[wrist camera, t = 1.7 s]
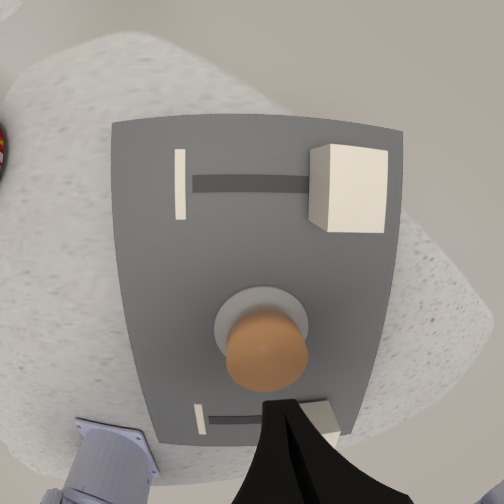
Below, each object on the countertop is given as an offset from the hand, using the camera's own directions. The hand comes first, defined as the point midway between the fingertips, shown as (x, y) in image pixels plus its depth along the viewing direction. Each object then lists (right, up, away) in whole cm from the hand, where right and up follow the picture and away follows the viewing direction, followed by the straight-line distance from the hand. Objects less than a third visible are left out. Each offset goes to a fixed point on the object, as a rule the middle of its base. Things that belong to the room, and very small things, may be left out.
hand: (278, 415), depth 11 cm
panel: (-1, +2, +9) cm, 9 cm away
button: (0, +1, +6) cm, 6 cm away
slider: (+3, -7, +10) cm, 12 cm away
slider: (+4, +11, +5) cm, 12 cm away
